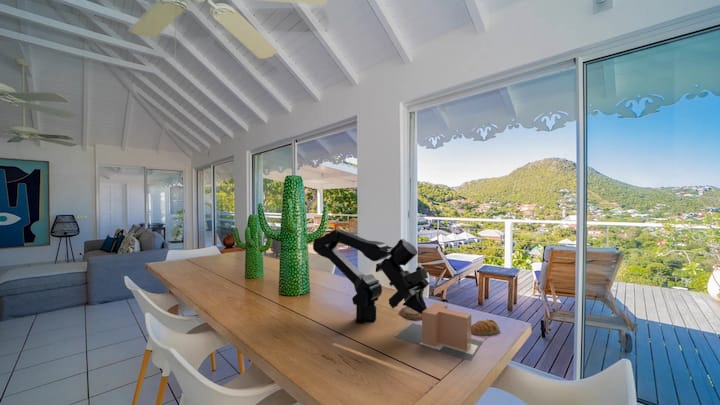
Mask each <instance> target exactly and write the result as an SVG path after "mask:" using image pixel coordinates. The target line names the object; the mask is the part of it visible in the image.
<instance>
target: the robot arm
mask: <svg viewBox="0 0 720 405" xmlns="http://www.w3.org/2000/svg"><path fill="white" fill-rule="evenodd" d="M312 243H313V244H312V249H313V251H314V252H315V253H316V254H318V255H319V256H321V257H323V258H326V259H328V260H329V261H330V262H331V263H332V264H333V265H334V266H335V267H336V268H337V269H338V270H339V271H341V273H342V274H343V275H344V277H346V278H347V280H349V281H350V282H351V283H352V284H353V285H354V290H355V292H356V294H355V295H354V296H353V297H352V298H351V299H352V300H351V301H352V304H353V305H355V306H356V307H355V308H356V314H355V315H356V316H355V318H356V319H355V324H366V323H368V324H369V323H370V324H371V323H372V324H373V323H375V321H376V320H377V306H376V305H375V304H376V302H377V301H378V300H379V297H380V296H381V295H382V293H383V288H382V287H383V286H382V284H381V283H380V280H379V279H378V278H376V277H375V276H374V275H373V274H371V273H370V274H367V275H365V274H364V273H363V272H362V271H361V270H359V268H357V267H356V266H355V265H354V263H352V262H351V261H350V260H349V259H348V258H347V257H346V256H345V255H344V254H343V253H342V252H341V251H339V248H338V247H339V246H338V244H340V243H341V244H343V245H345V246H348V247H351V248H353V249H355V250H357V251H359V252H361V253H362V254H363V256H364V257H365V258H367V259H369V260H370V261H372V262H378V261H381V260H382V261H381V262H378V263H376V264H375V265H376V266H375V273H378V272H382V273H384V275H385V277H386V278H387V279H388V280H389V283H388V285H389V286H390V287H394V288H395V289H396V292H395V293H394V294H392V295H391V297H389V299H388V304H389V306H390V307H391V309H395V308H397V307H398V306H399V304H400V303H401V302H402V301H404V303H402V306H404V307H409V308H411V309H413V310H415V311H417V312H419V313H420V314H422V311H424V310H425V309H427V308H428V307H427V305H426V302H425V300H424V297H423V295H424V290H425V289H426V288H427V287H428V286H429V285H430V282H429V281H427V279H429V276H428V269H426V267H424V266H423V265H420V266H417V267H416V268H415V271H412V272H410V271H409V270H404V268H403V267H402V266H406V265H407V264H409V262H410V261H412V260H413V259H414V257H415V256H416V255H417V254H418V250H417V248H416V247H415V246H414V245H412V243H410V242H409V241H407V240H405V239H404V238H401V239H400V240H398V242H397V243H396V245H394V246H393V247H391V246H389V245H388V244H387V243H385V242H381V241H377V240H368V239H365V238H364V237H360V236H358V235H356V234H354V233H351V232H347V231H345V230H344V229H333V230H331V231H330V232H329V233H326V234H325V235H323V236H320V237H316V238H315V239H314V240H313V242H312ZM389 256H390V257H389Z"/></svg>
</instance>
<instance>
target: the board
mask: <svg viewBox="0 0 720 405" xmlns="http://www.w3.org/2000/svg"><path fill="white" fill-rule="evenodd" d="M394 338H396V339H399V340H403V341H405V342H406V341H407V342H410V343H413V344H416V345H419V346H422V347H425V348H428V349H432V350H434V351H438V352H440V353H441V352H442V353H444V354H448V355H451V356H453V357H456V358H457V357H458V358H461V359H464V360H467V361H470V362H472V361H473V358H474V357H475V356H476V354H477V352H478V351H479V349H480V348H481V346H482V345H483V343H484V341H481V340H478V339H474V338H471V346H470V348H469V349H468V351H465V350H462V349H459V348H455V347H452V346H448V345H445V344H441V343H438V344H437V345H436V346H435V347H434V346H431V345H428V344H424V343H422V324H417V323H415V322H412V323H411V324H409V325H408V326H406V327H405V328H404V329H403V330H401V331H400V332H399V333H398V334H396V335H395V336H394Z"/></svg>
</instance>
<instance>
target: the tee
mask: <svg viewBox="0 0 720 405" xmlns="http://www.w3.org/2000/svg"><path fill="white" fill-rule="evenodd" d="M421 325H422V343H424V344H428V345H431V346H434V347H435V346H436V345H437V344H438V343H441V344H445V345H448V346H452V347H455V348H459V349H462V350H465V351H468V349H469V348H470V346H471V339H472V333H471V326H472V313H469V312H464V311H460V310H455V309H450V308H448V305H447V304H444V303H438V302H434V303H432V304H431V305H430V306H428V307H427V309H425V310H424V311H422V320H421Z"/></svg>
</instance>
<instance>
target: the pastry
mask: <svg viewBox="0 0 720 405" xmlns="http://www.w3.org/2000/svg"><path fill="white" fill-rule="evenodd" d="M500 333H501V329H500V327H499V325H498V323H497V322H496V321H495V320H493V319H489V318H488V319H483V320H478V321H476V322H475V323H473V324H471V334H473V335H477V336H490V335H491V336H492V335H496V334H500Z"/></svg>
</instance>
